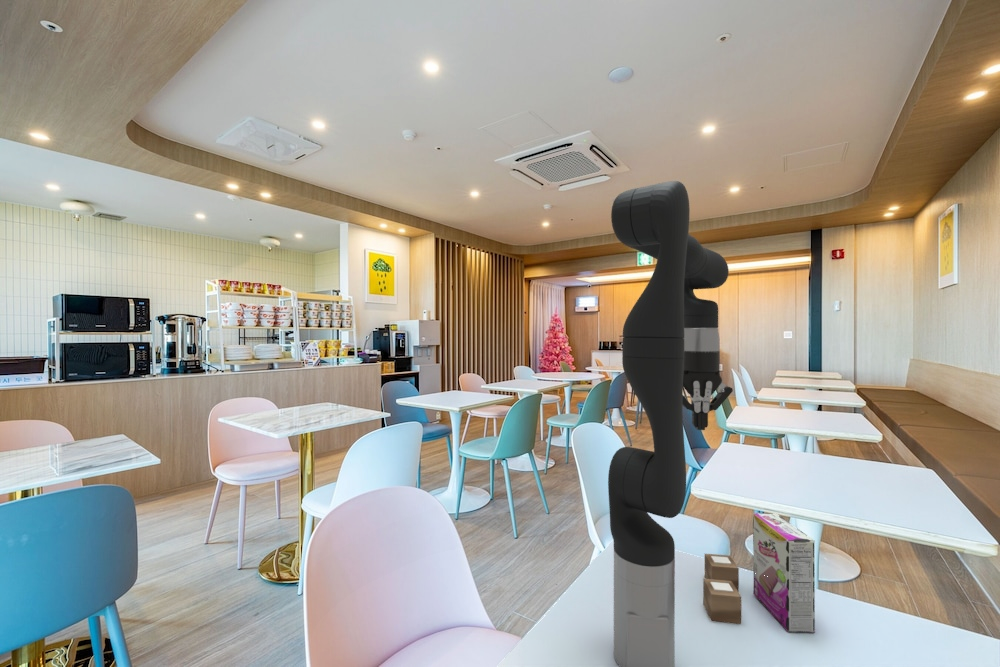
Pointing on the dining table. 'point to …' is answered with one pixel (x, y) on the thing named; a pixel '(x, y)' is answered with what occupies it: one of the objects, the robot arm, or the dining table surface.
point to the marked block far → (721, 568)
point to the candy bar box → (784, 571)
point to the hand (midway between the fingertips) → (700, 429)
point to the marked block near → (722, 601)
